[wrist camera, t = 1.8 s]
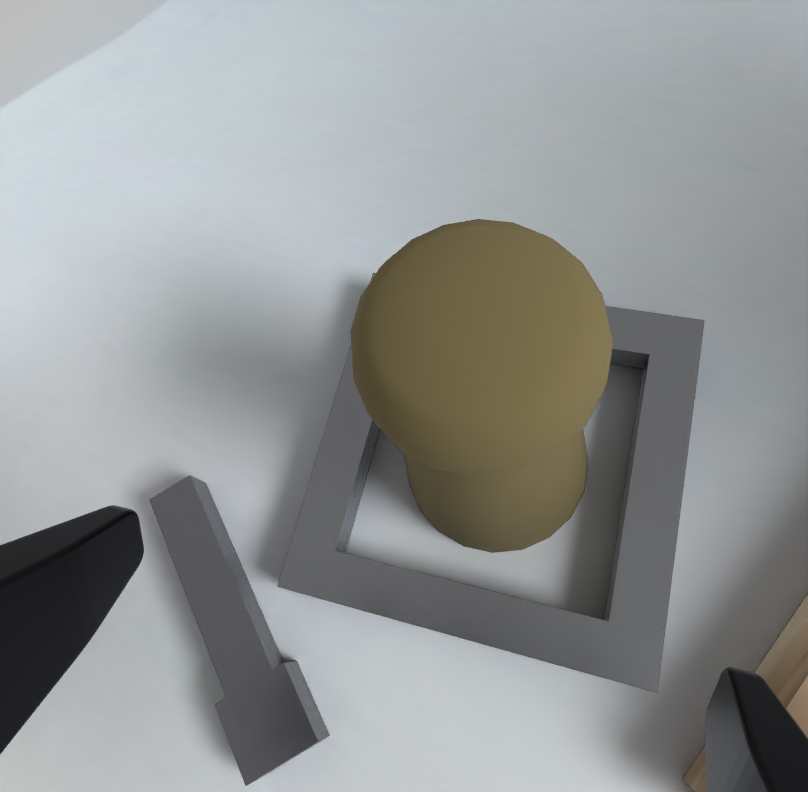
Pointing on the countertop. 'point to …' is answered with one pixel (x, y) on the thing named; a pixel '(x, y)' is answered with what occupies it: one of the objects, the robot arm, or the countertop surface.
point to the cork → (485, 377)
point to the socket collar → (502, 614)
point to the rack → (776, 682)
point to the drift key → (237, 637)
